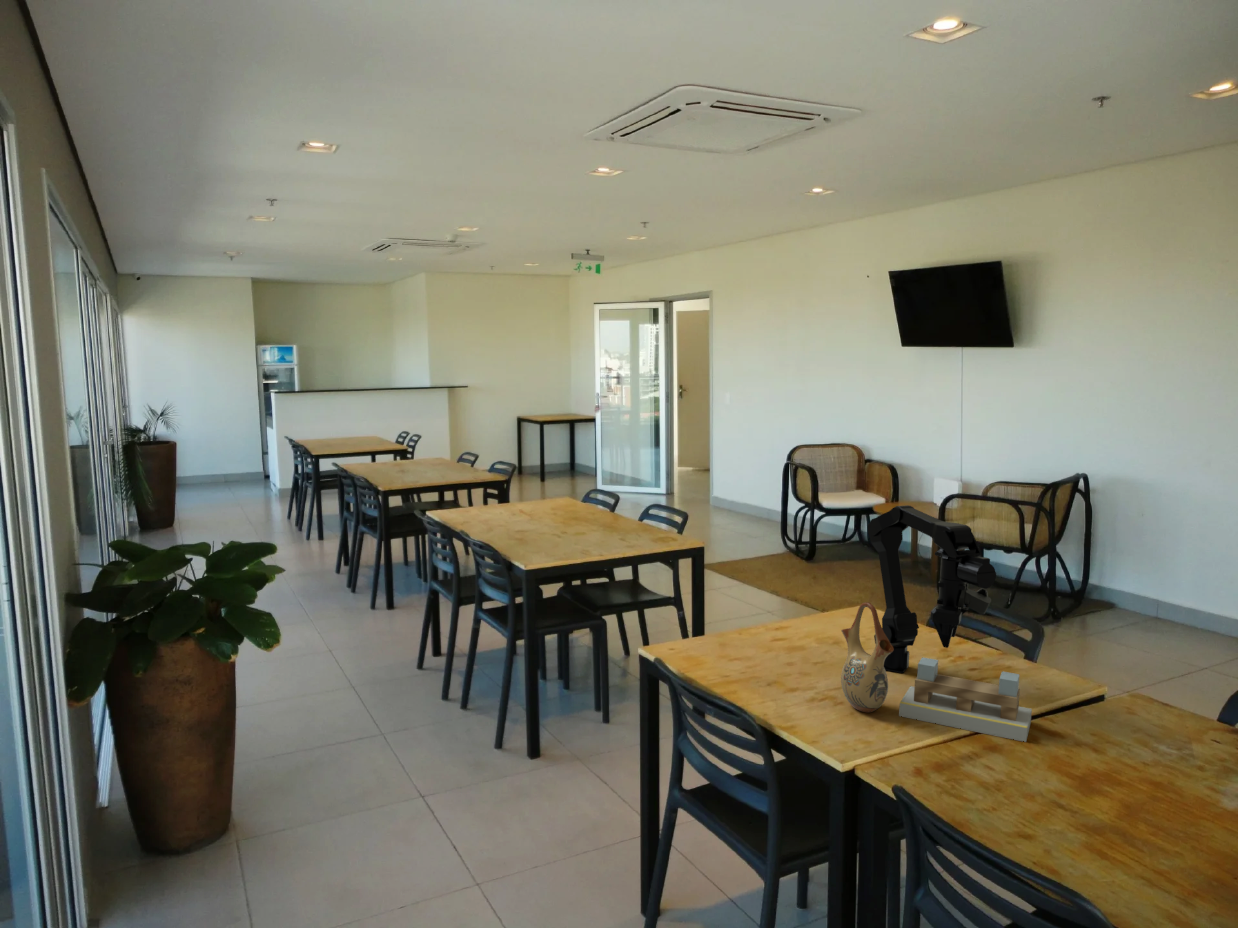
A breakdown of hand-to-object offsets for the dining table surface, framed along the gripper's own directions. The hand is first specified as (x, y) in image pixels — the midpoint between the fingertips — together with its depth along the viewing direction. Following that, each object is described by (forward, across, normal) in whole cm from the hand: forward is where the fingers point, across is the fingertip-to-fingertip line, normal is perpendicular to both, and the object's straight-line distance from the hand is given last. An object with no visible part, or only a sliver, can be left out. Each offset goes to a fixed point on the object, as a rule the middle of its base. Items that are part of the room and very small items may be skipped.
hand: (949, 641), depth 207 cm
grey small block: (+5, -13, +2) cm, 14 cm away
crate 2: (+5, -13, -14) cm, 20 cm away
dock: (+13, -13, -6) cm, 19 cm away
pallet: (+10, -13, -6) cm, 17 cm away
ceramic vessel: (+13, -19, +15) cm, 28 cm away
